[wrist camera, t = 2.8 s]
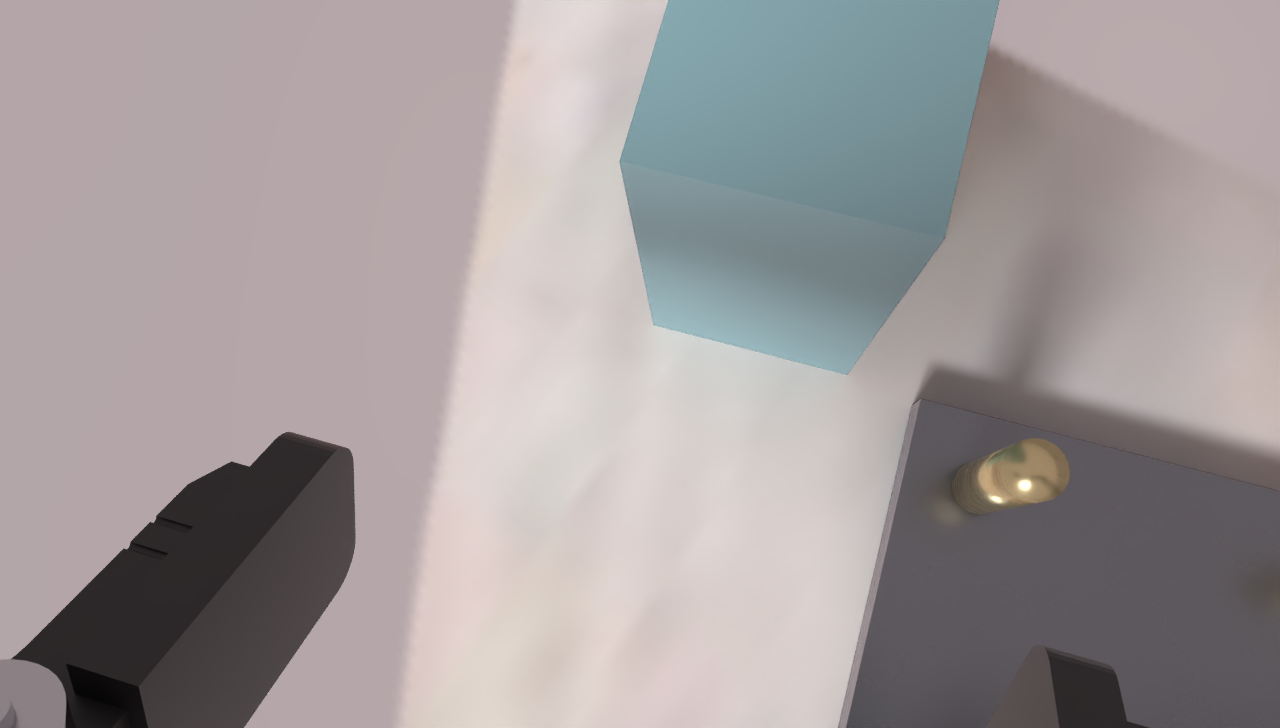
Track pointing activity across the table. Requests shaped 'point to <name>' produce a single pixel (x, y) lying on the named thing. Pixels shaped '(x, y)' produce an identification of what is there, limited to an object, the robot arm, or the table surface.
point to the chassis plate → (1065, 580)
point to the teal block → (799, 164)
